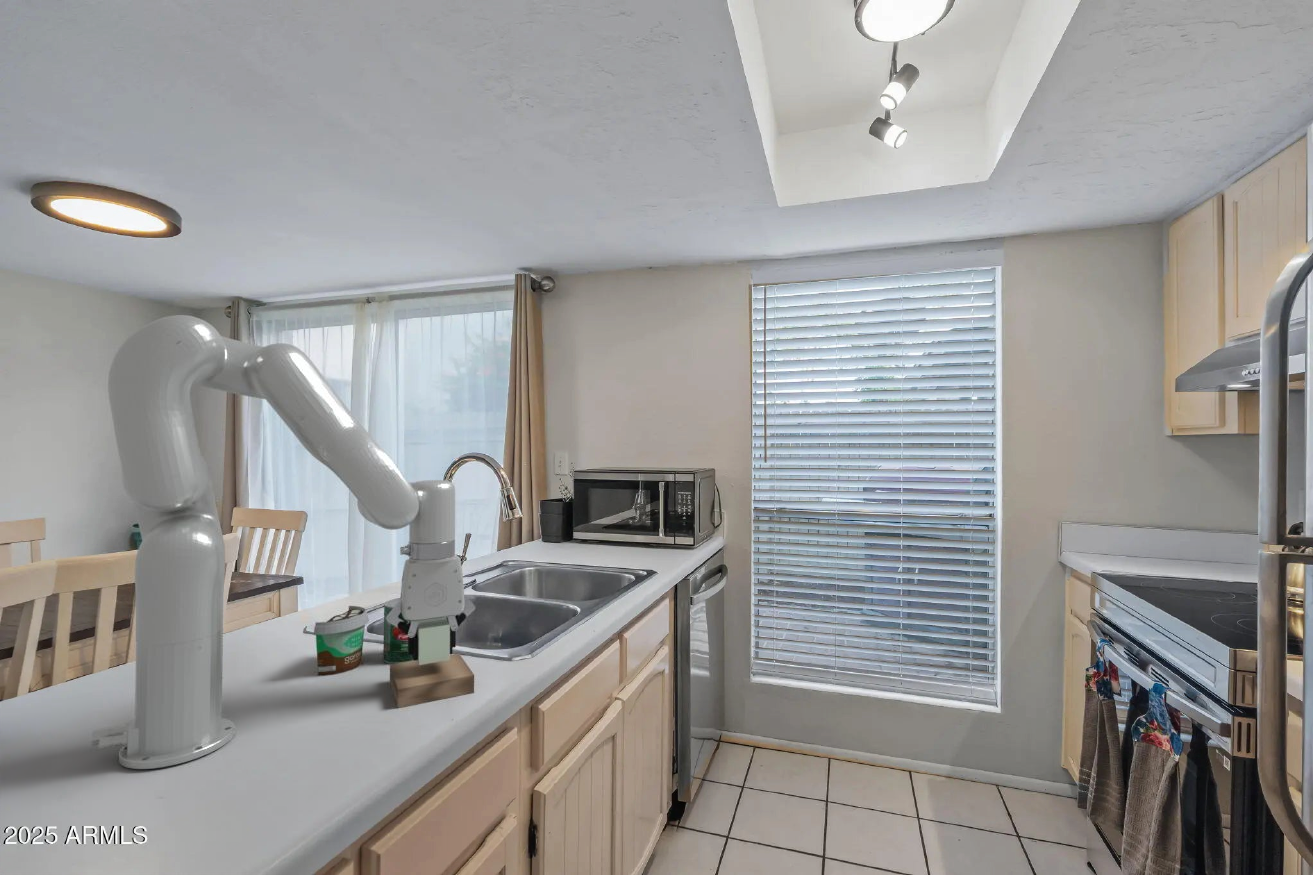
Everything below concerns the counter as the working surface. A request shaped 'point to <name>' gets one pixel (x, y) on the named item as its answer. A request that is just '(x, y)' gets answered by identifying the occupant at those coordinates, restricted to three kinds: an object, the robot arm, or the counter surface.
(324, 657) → the food container
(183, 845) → the counter surface
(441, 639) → the sage block
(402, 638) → the canned tomato
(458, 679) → the walnut base
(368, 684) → the counter surface
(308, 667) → the counter surface
